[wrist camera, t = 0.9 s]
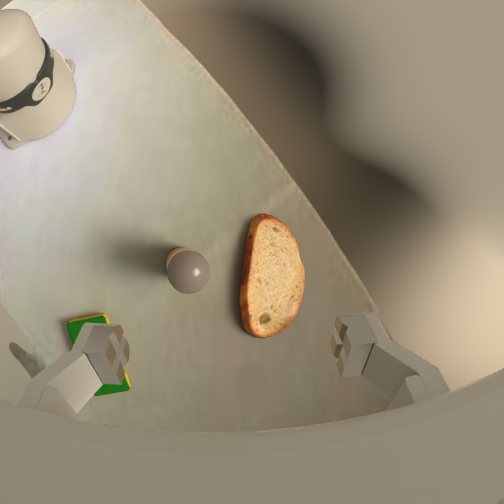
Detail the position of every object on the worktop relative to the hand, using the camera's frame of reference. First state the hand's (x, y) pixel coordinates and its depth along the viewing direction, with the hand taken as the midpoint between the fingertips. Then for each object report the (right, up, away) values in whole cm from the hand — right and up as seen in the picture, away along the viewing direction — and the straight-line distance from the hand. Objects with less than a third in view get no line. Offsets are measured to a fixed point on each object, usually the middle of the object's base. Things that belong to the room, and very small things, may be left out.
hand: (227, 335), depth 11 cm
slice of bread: (+3, -2, +42) cm, 42 cm away
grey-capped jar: (-10, +1, +37) cm, 38 cm away
